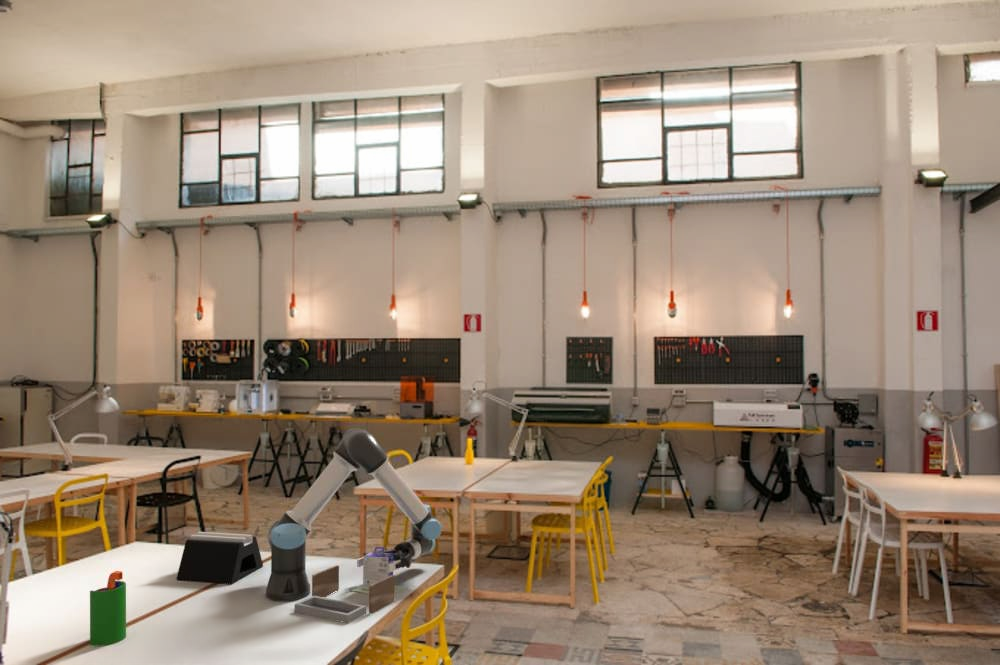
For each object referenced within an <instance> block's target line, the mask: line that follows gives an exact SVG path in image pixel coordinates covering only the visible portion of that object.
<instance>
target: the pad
mask: <svg viewBox="0 0 1000 665" xmlns="http://www.w3.org/2000/svg"><path fill="white" fill-rule="evenodd" d="M405 589H407V587H406V586H403V585H399V584H398V585H397V584H395V593H396V594H397V593H399V592H402V591H403V590H405ZM350 590H352V591H351V592H354V591H357V592H356V593H359V592H362V593H361V594H364V593H367V594H366V595H369V590H367V589H363V583H362V584H359V585H357V586H355V587H353V588H351V589H350ZM395 593H394V595H395Z"/></svg>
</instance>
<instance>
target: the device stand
mask: <svg viewBox="0 0 1000 665" xmlns="http://www.w3.org/2000/svg"><path fill="white" fill-rule="evenodd" d="M189 536H190V538H187V539H186V540H185V543H184V547H183V551H182V554H181V555H182V556H181V559H180V563H179V567H178V571H177V575H176V578H175V579H176V581H180V582H191V583H192V582H193V583H204V584H205V583H209V584H221V585H234V584H235V583H237V582H240V580H243V579H244V578H246V577H248V576H249V575H251V574H253V573H255V572H257V571H258V570H260V569H262V568H263V566H264V564H263V560H262V556H261V551H260V547H259V543H258V539H257V536H254V535H252V534H243V533H242V534H241V533H227V532H226V533H224V532H222V533H221V532H211V531H210V532H207V531H198V532H197V534H190V535H189Z"/></svg>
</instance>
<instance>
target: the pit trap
mask: <svg viewBox="0 0 1000 665" xmlns="http://www.w3.org/2000/svg"><path fill="white" fill-rule="evenodd" d="M294 613H299V614H302V615H303V614H304V615H308V616H312V617H317V618H321V617H323V618H322V619H326V618H327V620H330V619H332V620H331V621H335V620H338V621H337V622H340V621H343V622H342V623H344V622H347V623H346V624H350V623H351V622H353V621H355V620H358V619H359V618H360V617H362V616H363V617H364V616H365V615H366V614H367V606H366V605H362V604H359V603H353V602H347V601H344V600H343V601H342V600H338V599H332V598H328V597H324V598H323V597H318V596H312V595H311V596H310V597H308V598H305V599H304V600H300V601H299V602H296V603H295V604H294ZM364 614H365V615H364ZM350 621H351V622H350ZM349 622H350V623H349Z"/></svg>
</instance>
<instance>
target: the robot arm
mask: <svg viewBox="0 0 1000 665" xmlns="http://www.w3.org/2000/svg"><path fill="white" fill-rule="evenodd" d="M360 468H361V469H363V470H364V471H365V473H366V474H367V475H371V476H372V477H373V478H374V479H375V481H376V482H377V483H378V484H379V485H380V486H381V487H382V488H383V489H384V491H385V492H386V494H388V496H389V497H390V498H391V499H392V500H393V502H394V503H395V504H396V505H397V506H398V508H399V509H400V510H401V511H402V513H403V514H404V515H405V516H406V518H408V519H409V521H410V522H411V533H410V534H411V537H410V538H409V539H406V540H404V541H402V542H400V543H398V544H396V545H395V546H394V548H393V549H391V550H388V549H387V548H384V553H392V554H393V563H391V564H388V572H389V573H390V572H392V571H393V572H394V571H396V570H398V569H401V568H403V569H405V568H407V569H409V568H410V567H411V565H412V563H413V562H414V561H415V559H417V558H420V557H422V556H424V555H427V554H428V553H431V552H432V551H433V550H434V549H435V547H436V539H438V538H439V537H440V536H441V534H442V531H443V527H442V524H441V523H440V521H439V520H438V519H437V518H435V516H434V515H433V514H432V510H431V506H430V505H429V504H424V503H423V502H422V500H421V499H420V498H419V496H417V495H416V493H415V492H414V491H413V490H412V489H411V487H410V486H409V485H408V484H407V482H406V481H405V480H404V479H403V477H402V476H401V475H400V474H399V472H397V470H396V469H395V468H394V467H393V466H392V464H391V463H390V462H389V456H388V455H387V454H386V452H385V451H384V450H383V448H382V446H381V445H380V444H379V442H378V440H377V439H376V437H374V435H373V434H371V433H369V432H368V431H367V430H365V429H362V428H352V429H349V430H347V431H346V432H345V433H344V434H343V436H342V437H341V439H340V443H339V444H338V446H336V448H335V449H334V451H333V459H332V460H331V461H330V462H329V464H327V466H326V467H325V468H324V470H323V471H322V472H321V473H320V475H319V476H318V477H317V479H316V480H315V481H314V482H313V484H312V485H311V486H310V487H309V488H308V490H306V492H305V494H304V495H303V496H302V498H301V499H300V500H299V502H297V504H296V505H295V507H294V508H293V509H292V510H291V509H290V510H287V511H285V512H284V514H283V515H282V517H281V518H280V519H278V520H276V521H275V522H274V523H273V524H272V525H271V527H270V528H269V531H268V535H267V536H268V537H267V538H268V539H267V540H268V544H269V547H270V549H271V550H270V551H271V553H270V554H271V559H270V561H271V562H270V563H271V564H270V565H271V566H270V568H271V570H270V571H271V572H270V575H269V578H268V581H267V582H268V583H267V586H266V587H265V597H266V598H267V600H270V601H276V602H289V601H296V600H299V599H303V598H305V597H308V596H309V595H310V594H311V584H310V583H309V579H308V575H307V571H306V563H307V562H306V557H307V556H306V553H307V552H306V547H307V546H306V543H307V542H306V540H307V536H308V535H309V534H310V533H311V531H312V523H313V522H314V521H315V519H316V518H317V517H318V516H319V514H320V513H321V512H322V511H323V510H324V508H325V507H326V505H327V504H328V503H329V502H330V501H331V499H332V498H333V496H334V495H335V493H336V492H337V491H338V490H339V488H340V487H341V486H342V485H343V483H344V482H345V481H346V480H347V478H348V477H349V476H350V474H351V473H352V472H356V471H358V470H359V469H360ZM379 551H383V550H382V549H380V550H379ZM369 552H371V553H374V551H369ZM369 552H364V553H363V556H364V555H366V554H367V553H369ZM363 556H362V557H360V558H357V559H356V567H357V568H361V567H363Z"/></svg>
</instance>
